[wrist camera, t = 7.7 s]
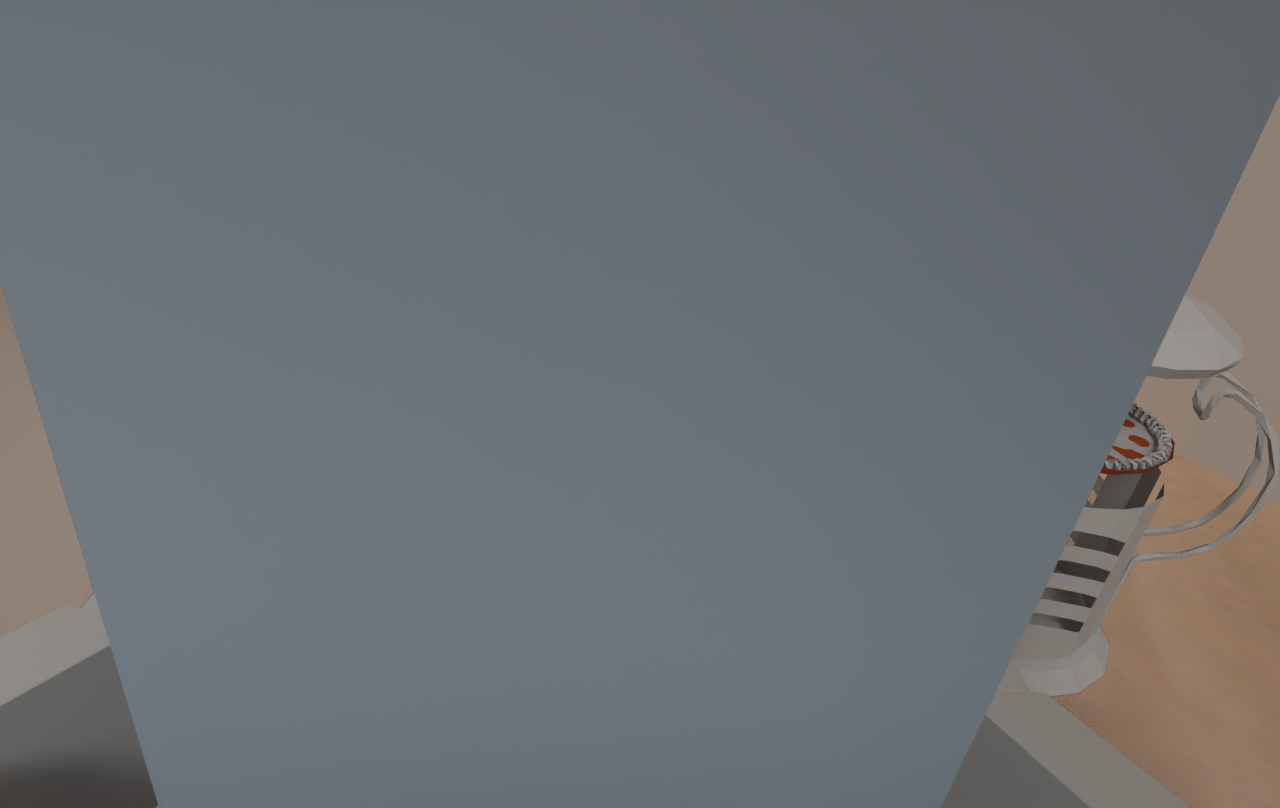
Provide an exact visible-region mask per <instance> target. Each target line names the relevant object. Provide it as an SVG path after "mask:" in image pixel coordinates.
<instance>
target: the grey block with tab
mask: <svg viewBox="0 0 1280 808" xmlns="http://www.w3.org/2000/svg"><path fill="white" fill-rule="evenodd" d="M1279 95H1280V0H0V281H1V284H2V288H3V291H4V294H5V298H6V301H7V304H8V308H9V311H10V314H11V318H12V321H13V324H14V328H15V331H16V334H17V337H18V341H19V344H20V348H21V351H22V354H23V357H24V361H25V364H26V367H27V371H28V374H29V377H30V380H31V384H32V387H33V391H34V394H35V397H36V401H37V403H38V407H39V411H40V414H41V417H42V421H43V424H44V427H45V431H46V434H47V437H48V441H49V444H50V447H51V451H52V453H53V457H54V460H55V464H56V467H57V470H58V474H59V477H60V480H61V483H62V487H63V490H64V493H65V497H66V500H67V504H68V507H69V510H70V513H71V517H72V520H73V524H74V527H75V530H76V533H77V537H78V540H79V543H80V546H81V550H82V553H83V557H84V560H85V563H86V566H87V570H88V573H89V577H90V580H91V583H92V587H93V590H94V593H95V597H96V600H97V603H98V607H99V610H100V613H101V617H102V620H103V623H104V627H105V630H106V633H107V637H108V640H109V643H110V646H111V650H112V653H113V656H114V660H115V663H116V666H117V670H118V673H119V676H120V680H121V683H122V686H123V690H124V693H125V696H126V700H127V703H128V706H129V710H130V713H131V716H132V720H133V723H134V726H135V730H136V733H137V736H138V739H139V743H140V746H141V749H142V753H143V756H144V759H145V763H146V766H147V769H148V773H149V776H150V779H151V783H152V786H153V789H154V793H155V796H156V799H157V803H158V806H159V808H941V807H942V804H943V802H944V800H945V798H946V796H947V794H948V792H949V790H950V788H951V786H952V783H953V781H954V779H955V777H956V775H957V773H958V771H959V769H960V767H961V764H962V762H963V760H964V758H965V756H966V754H967V752H968V750H969V748H970V746H971V743H972V741H973V739H974V737H975V735H976V733H977V731H978V729H979V727H980V724H981V722H982V720H983V718H984V716H985V714H986V712H987V710H988V708H989V706H990V703H991V701H992V699H993V697H994V695H995V693H996V691H997V689H998V687H999V685H1000V682H1001V680H1002V678H1003V676H1004V674H1005V672H1006V670H1007V668H1008V666H1009V663H1010V661H1011V659H1012V657H1013V655H1014V653H1015V651H1016V649H1017V647H1018V645H1019V642H1020V640H1021V638H1022V636H1023V634H1024V632H1025V630H1026V628H1027V626H1028V624H1029V621H1030V619H1031V617H1032V615H1033V613H1034V611H1035V609H1036V607H1037V605H1038V602H1039V600H1040V598H1041V596H1042V594H1043V592H1044V590H1045V588H1046V586H1047V584H1048V581H1049V579H1050V577H1051V575H1052V573H1053V571H1054V569H1055V567H1056V565H1057V562H1058V560H1059V558H1060V556H1061V554H1062V552H1063V550H1064V548H1065V546H1066V544H1067V541H1068V539H1069V537H1070V535H1071V533H1072V531H1073V529H1074V527H1075V525H1076V523H1077V520H1078V518H1079V516H1080V514H1081V512H1082V510H1083V508H1084V506H1085V504H1086V501H1087V499H1088V497H1089V495H1090V493H1091V491H1092V489H1093V487H1094V485H1095V483H1096V480H1097V478H1098V476H1099V474H1100V472H1101V470H1102V468H1103V466H1104V464H1105V462H1106V459H1107V457H1108V455H1109V453H1110V451H1111V449H1112V447H1113V445H1114V443H1115V440H1116V438H1117V436H1118V434H1119V432H1120V430H1121V428H1122V426H1123V424H1124V422H1125V419H1126V417H1127V415H1128V413H1129V411H1130V409H1131V407H1132V405H1133V403H1134V400H1135V398H1136V396H1137V394H1138V392H1139V390H1140V388H1141V386H1142V384H1143V382H1144V379H1145V377H1146V375H1147V373H1148V371H1149V369H1150V367H1151V365H1152V363H1153V361H1154V358H1155V356H1156V354H1157V352H1158V350H1159V348H1160V346H1161V344H1162V342H1163V339H1164V337H1165V335H1166V333H1167V331H1168V329H1169V327H1170V325H1171V323H1172V321H1173V318H1174V316H1175V314H1176V312H1177V310H1178V308H1179V306H1180V304H1181V302H1182V299H1183V297H1184V295H1185V293H1186V291H1187V289H1188V286H1189V285H1190V283H1191V281H1192V278H1193V276H1194V274H1195V272H1196V270H1197V268H1198V266H1199V264H1200V262H1201V259H1202V257H1203V255H1204V253H1205V251H1206V249H1207V247H1208V245H1209V243H1210V241H1211V238H1212V236H1213V234H1214V232H1215V230H1216V228H1217V226H1218V224H1219V222H1220V220H1221V217H1222V215H1223V213H1224V211H1225V209H1226V207H1227V205H1228V203H1229V201H1230V198H1231V196H1232V194H1233V192H1234V190H1235V188H1236V186H1237V184H1238V182H1239V180H1240V177H1241V175H1242V173H1243V171H1244V169H1245V167H1246V165H1247V163H1248V161H1249V159H1250V156H1251V154H1252V152H1253V150H1254V148H1255V146H1256V143H1257V142H1258V140H1259V137H1260V135H1261V133H1262V131H1263V129H1264V127H1265V125H1266V123H1267V120H1268V118H1269V116H1270V114H1271V112H1272V110H1273V108H1274V105H1275V104H1276V102H1277V99H1278V97H1279Z"/></svg>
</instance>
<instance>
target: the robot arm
mask: <svg viewBox="0 0 1280 808" xmlns="http://www.w3.org/2000/svg"><path fill="white" fill-rule="evenodd" d="M157 806H158V803H157V799H156V796H155V793H154V789H153V786H152V783H151V779H150V776H149V773H148V769H147V766H146V763H145V759H144V756H143V753H142V749H141V746H140V743H139V739H138V736H137V733H136V730H135V726H134V723H133V720H132V716H131V713H130V710H129V706H128V703H127V700H126V696H125V693H124V690H123V686H122V683H121V680H120V676H119V673H118V670H117V666H116V663H115V660H114V656H113V653H112V650H111V646H110V643H109V640H108V637H107V633H106V630H105V627H104V623H103V620H102V617H101V613H100V610H99V607H98V603H97V600H96V597H95V593H93V594H92V595H91V596H90V597H89V599H88V600H87V601H86V602H85V603H84V604H83V606H82V607H81V608H76V607H60V608H58V609H56V610H54V611H52V612H50V613H48V614H46V615H44V616H42V617H40V618H38V619H36V620H33V621H31V622H29V623H27V624H25V625H23V626H21V627H19V628H17V629H14V630H12V631H10V632H8V633H6V634H4V635H2V636H0V808H156V807H157ZM941 808H1191V807H1190V806H1189V805H1187V804H1186V803H1185V802H1183V801H1182V800H1181V799H1180V798H1178V797H1177V796H1176V795H1175V794H1173V793H1172V792H1171V791H1169V790H1168V789H1167V788H1166V787H1164V786H1163V785H1162V784H1160V783H1159V782H1158V781H1157V780H1155V779H1154V778H1153V777H1152V776H1150V775H1149V774H1148V773H1146V772H1145V771H1144V770H1143V769H1141V768H1140V767H1139V766H1138V765H1136V764H1135V763H1134V762H1132V761H1131V760H1130V759H1129V758H1127V757H1126V756H1125V755H1124V754H1122V753H1121V752H1120V751H1118V750H1117V749H1116V748H1115V747H1113V746H1112V745H1111V744H1110V743H1108V742H1107V741H1106V740H1104V739H1103V738H1102V737H1101V736H1099V735H1098V734H1097V733H1096V732H1094V731H1093V730H1092V729H1090V728H1089V727H1088V726H1087V725H1085V724H1084V723H1083V722H1082V721H1080V720H1079V719H1078V718H1076V717H1075V716H1074V715H1073V714H1071V713H1070V712H1069V711H1068V710H1066V709H1065V708H1064V707H1062V706H1061V705H1060V704H1059V703H1057V702H1056V701H1055V700H1054V699H1052V698H1051V697H1050V696H1048V695H1047V694H1046V693H1040V692H1029V690H1028V688H1027V686H1026V684H1025V682H1024V680H1023V678H1022V676H1021V674H1020V672H1019V670H1018V668H1017V666H1016V664H1015V662H1014V660H1013V658H1012V659H1011V661H1010V663H1009V666H1008V668H1007V670H1006V672H1005V674H1004V676H1003V678H1002V680H1001V682H1000V685H999V687H998V689H997V691H996V693H995V695H994V697H993V699H992V701H991V703H990V706H989V708H988V710H987V712H986V714H985V716H984V718H983V720H982V722H981V724H980V727H979V729H978V731H977V733H976V735H975V737H974V739H973V741H972V743H971V746H970V748H969V750H968V752H967V754H966V756H965V758H964V760H963V762H962V764H961V767H960V769H959V771H958V773H957V775H956V777H955V779H954V781H953V783H952V786H951V788H950V790H949V792H948V794H947V796H946V798H945V800H944V802H943V804H942V807H941Z"/></svg>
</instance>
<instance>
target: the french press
mask: <svg viewBox="0 0 1280 808" xmlns="http://www.w3.org/2000/svg"><path fill="white" fill-rule="evenodd" d="M1242 359H1243V342H1242V340H1241V339H1240V338H1239V337H1238V336H1237V334H1236V333H1235V332H1234V331H1233V330H1232V329H1231V327H1230V326H1229V325H1228V324H1227V323H1226V321H1225V320H1224V319H1223V318H1222V317H1221V316H1220V314H1219V313H1218V312H1217V311H1216V310H1215V308H1213V307H1212V306H1210V305H1209V304H1207V303H1205V302H1203V301H1202V300H1201V299H1199V298H1197V297H1195V296H1194V295H1192V294H1191V293H1189V292H1188V291H1186V293H1185V295H1184V297H1183V299H1182V302H1181V304H1180V306H1179V308H1178V310H1177V312H1176V314H1175V316H1174V318H1173V321H1172V323H1171V325H1170V327H1169V329H1168V331H1167V333H1166V335H1165V337H1164V339H1163V342H1162V344H1161V346H1160V348H1159V350H1158V352H1157V354H1156V356H1155V358H1154V361H1153V363H1152V365H1151V367H1150V369H1149V371H1148V373H1147V376H1153V377H1159V378H1164V379H1201V381H1200V383H1199V384H1198V386H1197V388H1196V391H1195V394H1194V396H1193V398H1192V401H1193V408H1194V410H1195V412H1196V413H1197V415H1198V417H1199V418H1200V420H1206V419H1207V418H1208V417H1209V416H1210V414H1211V412H1212V411H1213V409H1214V408H1215V407H1216V405H1217V404H1218V403H1219V401H1220V400H1221V398H1222V397H1227V398H1234V399H1235V400H1236V401H1237V402H1239V403H1240V404H1241V405H1242V406H1244V407H1245V408H1246V409H1247V410H1248V411H1250V412H1251V413H1252V414H1253V415H1255V417H1256V424H1257V431H1258V435H1257V443H1256V450H1255V457H1254V459H1253V461H1252V463H1251V465H1250V467H1249V469H1248V470H1247V472H1246V474H1245V476H1244V478H1243V480H1242V482H1241V484H1240V486H1239V487H1238V488H1237V489H1236V490H1235V491H1234V492H1233V493H1232V494H1231V495H1230V496H1228V497H1227V498H1226V499H1225V500H1224V501H1223V502H1222V503H1221V504H1220V505H1218V506H1217V507H1216V508H1214V509H1213V510H1211V511H1210V512H1209V513H1207V514H1206V515H1204V516H1203V517H1202V518H1200V519H1199V520H1195V521H1192V522H1188V523H1185V524H1181V525H1178V526H1174V527H1167V528H1150V529H1146V528H1147V526H1148V525H1149V523H1150V521H1151V519H1152V517H1153V515H1154V513H1155V511H1156V509H1157V507H1158V506H1159V504H1160V502H1161V500H1162V498H1163V496H1164V485H1163V486H1162V488H1161V490H1160V492H1159V494H1158V496H1157V498H1156V500H1155V501H1154V502H1152V503H1151V504H1149V505H1147V506H1145V507H1144V505H1145V503H1146V501H1147V499H1148V497H1149V495H1150V493H1151V491H1152V489H1153V487H1154V485H1155V483H1156V482H1157V480H1158V478H1159V476H1160V474H1161V471H1160V470H1159V468H1158V467H1159V466H1161V465H1163V464H1164V463H1166V462H1168V461H1170V460H1171V459H1173V451H1174V441H1173V440H1172V438H1173V437H1172V436H1171V435H1170V434H1169V432H1168V431H1167V430H1165V429H1164V426H1162V424H1161V422H1159V421H1157V420H1156V417H1151V416H1150V414H1151V413H1149V412H1144V411H1143V409H1142V408H1141V407H1139V408H1138V407H1137V404H1133V405H1132V407H1131V409H1130V411H1129V413H1128V415H1127V417H1126V419H1125V422H1124V424H1123V426H1122V428H1121V430H1120V432H1119V434H1118V436H1117V438H1116V440H1115V443H1114V445H1113V447H1112V449H1111V451H1110V453H1109V455H1108V457H1107V459H1106V462H1105V464H1104V466H1103V468H1102V470H1101V472H1100V473H1104V474H1108V475H1107V477H1106V479H1105V481H1104V480H1103V479H1102V478H1101V477H1100V475H1099V476H1098V478H1097V480H1096V483H1095V485H1094V487H1093V490H1094V491H1095V493H1096V494H1097V495H1098V496H1097V498H1096V500H1095V502H1094V504H1093V506H1092V504H1091V503H1090V502H1089V501H1088V500H1087V501H1086V504H1085V506H1084V508H1083V510H1082V512H1081V514H1080V516H1079V518H1078V520H1077V523H1076V525H1075V527H1074V529H1073V531H1072V533H1071V535H1070V537H1071V538H1072V540H1073V541H1074V542H1075V544H1074V546H1073V545H1066V546H1065V548H1064V550H1063V552H1062V554H1061V556H1060V558H1059V560H1058V562H1057V565H1056V567H1055V569H1054V571H1053V573H1052V575H1051V577H1050V579H1049V581H1048V584H1047V586H1046V588H1045V590H1044V592H1043V594H1042V596H1041V598H1040V600H1039V602H1038V605H1037V607H1036V609H1035V611H1034V613H1033V615H1032V617H1031V619H1030V621H1029V624H1028V626H1027V628H1026V630H1025V632H1024V634H1023V636H1022V638H1021V640H1020V642H1019V645H1018V647H1017V649H1016V651H1015V653H1014V655H1013V657H1012V658H1013V660H1014V662H1015V664H1016V666H1017V668H1018V670H1019V672H1020V674H1021V676H1022V678H1023V680H1024V682H1025V684H1026V686H1027V688H1028V690H1029V692H1040V693H1046V694H1047V695H1048V696H1056V695H1065V694H1074V693H1079V692H1080V691H1082V690H1083V689H1085V688H1086V687H1087V686H1089V685H1090V684H1091V683H1093V682H1094V681H1096V680H1097V679H1098V678H1100V677H1101V676H1102V675H1104V674H1105V669H1106V663H1107V658H1108V653H1109V648H1110V644H1109V642H1108V639H1107V637H1106V635H1105V632H1104V630H1103V628H1102V625H1101V623H1102V621H1103V619H1104V617H1105V616H1106V614H1107V612H1108V610H1109V608H1110V606H1111V605H1112V603H1113V601H1114V599H1115V597H1116V595H1117V594H1118V592H1119V590H1120V588H1121V586H1122V584H1123V583H1124V581H1125V579H1126V577H1127V575H1128V573H1129V572H1130V570H1131V568H1132V566H1133V564H1137V563H1140V562H1143V561H1154V560H1171V559H1183V558H1186V557H1190V556H1193V555H1196V554H1200V553H1203V552H1207V551H1210V550H1212V549H1213V548H1215V547H1217V546H1218V545H1220V544H1222V543H1224V542H1225V541H1227V540H1229V539H1231V538H1232V537H1234V536H1236V535H1237V534H1238V533H1239V532H1240V531H1241V530H1242V529H1243V528H1244V527H1246V526H1247V525H1248V524H1249V523H1250V522H1251V521H1252V520H1253V519H1254V518H1255V517H1256V516H1257V515H1258V513H1259V511H1260V510H1261V508H1262V507H1263V505H1264V503H1265V502H1266V500H1267V498H1268V497H1269V495H1270V493H1271V492H1272V490H1273V488H1274V487H1275V485H1276V483H1277V478H1278V471H1279V464H1280V459H1279V448H1278V437H1277V435H1276V434H1275V432H1274V430H1273V429H1272V427H1271V425H1270V424H1269V422H1268V420H1267V418H1266V417H1265V415H1264V413H1263V411H1262V409H1261V408H1260V406H1259V405H1258V403H1257V401H1256V399H1255V398H1254V396H1253V394H1251V393H1250V392H1249V391H1248V390H1247V389H1246V388H1245V387H1244V386H1243V385H1242V384H1240V383H1239V382H1238V381H1237V380H1236V379H1235V378H1234V377H1233V376H1232V375H1231V374H1230V373H1228V372H1226V371H1227V370H1229V369H1230V368H1232V367H1234V366H1235V365H1237V364H1239V362H1240V361H1241V360H1242ZM1213 377H1220V378H1223V379H1225V380H1226V381H1227V382H1228V383H1230V384H1231V385H1232V386H1233V387H1234V388H1236V389H1237V390H1238V391H1236V390H1226V389H1224V390H1222V391H1220V392H1218V393H1216V394H1215V395H1213V396H1212V397H1211V399H1210V401H1209V403H1208V404H1207V406H1206V408H1205V409H1204V410H1203V409H1202V405H1201V398H1202V396H1203V394H1204V392H1205V390H1206V388H1207V386H1208V385H1209V382H1210V380H1211V379H1212V378H1213ZM1240 392H1241V393H1242V394H1241V393H1240ZM1265 435H1266V437H1267V440H1268V452H1269V466H1268V472H1267V477H1266V483H1265V486H1264V487H1263V489H1262V490H1261V492H1260V493H1259V494H1258V496H1257V497H1256V499H1255V500H1254V502H1253V503H1252V504H1251V506H1250V507H1249V509H1248V510H1247V512H1246V513H1245V514H1244V516H1243V517H1242V519H1241V520H1240V522H1238V523H1237V524H1235V525H1234V526H1233V527H1231V528H1230V529H1229V530H1227V531H1226V532H1225V533H1223V534H1222V535H1221V536H1219V537H1218V538H1217V539H1215V540H1214V541H1212V542H1211V543H1209V544H1206V545H1202V546H1199V547H1195V548H1192V549H1188V550H1185V551H1181V552H1164V553H1145V554H1139V555H1137V556H1134V557H1132V555H1133V553H1134V551H1135V549H1136V547H1137V546H1138V544H1139V542H1140V540H1141V538H1142V536H1154V535H1167V534H1175V533H1179V532H1182V531H1185V530H1188V529H1192V528H1195V527H1198V526H1202V525H1204V524H1206V523H1207V522H1208V521H1210V520H1211V519H1213V518H1214V517H1216V516H1217V515H1219V514H1220V513H1222V512H1223V511H1224V510H1225V509H1226V508H1228V507H1229V506H1230V505H1231V504H1232V503H1234V502H1235V501H1236V500H1237V499H1239V498H1240V497H1241V496H1242V495H1243V494H1244V492H1245V491H1246V489H1247V487H1248V486H1249V484H1250V482H1251V481H1252V479H1253V477H1254V475H1255V474H1256V472H1257V470H1258V469H1259V467H1260V465H1261V464H1262V460H1263V452H1264V444H1265Z"/></svg>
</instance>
